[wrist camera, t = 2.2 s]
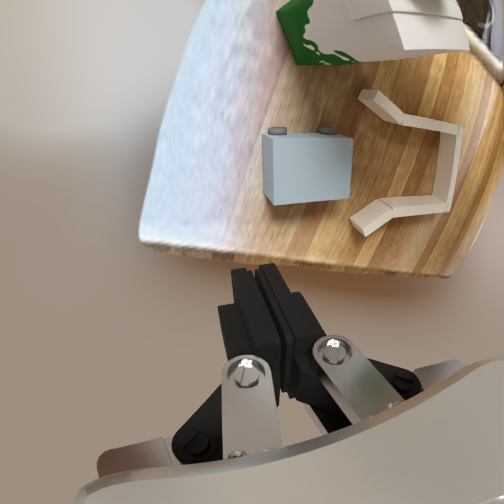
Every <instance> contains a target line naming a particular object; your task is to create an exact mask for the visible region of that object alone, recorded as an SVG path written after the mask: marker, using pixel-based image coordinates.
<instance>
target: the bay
mask: <svg viewBox="0 0 504 504" xmlns="http://www.w3.org/2000/svg"><path fill="white" fill-rule="evenodd" d="M357 99H358V100H359V101H361V102H362V103H363V104H364V105H366V106H367V107H368V108H369V109H371V110H372V111H373V112H374V113H375V114H377V115H378V116H379V117H380V118H381V119H383V120H384V121H386V122H391V123H395V124H399V125H403V126H410V127H417V128H423V129H429V130H434V131H440V143H439V152H438V160H437V167H436V174H435V181H434V186H433V192H432V195H425V196H405V197H388V198H379V199H378V200H377V199H376V200H374V201H373V202H371V203H370V204H368V205H367V206H366V207H364V208H363V209H361V210H360V211H358V212H357V213H355V214H354V215H353V216H351V217H350V220H351V223H352V225H353V226H354V227H355V228H356V229H357V230H358V231H359V232H360V233H362V234H363V235H364V236H365V237H367V236H368V235H369V234H371V233H372V232H374V231H375V230H376V229H378V228H379V227H381V226H382V225H383V224H385V223H386V222H387V221H389V220H390V219H392V218H395V217H404V216H414V215H423V214H433V213H442V212H450V208H451V203H452V199H453V194H454V189H455V183H456V178H457V172H458V165H459V158H460V151H461V142H462V132H463V127H462V126H458V125H455V124H451V123H448V122H444V121H439V120H435V119H430V118H426V117H421V116H416V115H410V114H405V113H403V112H402V111H401V110H400V109H399V108H398V107H397V106H395V105H394V104H393V103H392V102H391V101H390V100H389V99H388V98H387V97H386V96H385V95H383V94H382V93H381V92H380V91H379V90H365V89H362V90H361V92H360V94H359V96H358V98H357Z"/></svg>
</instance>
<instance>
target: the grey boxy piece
mask: <svg viewBox="0 0 504 504" xmlns="http://www.w3.org/2000/svg"><path fill="white" fill-rule="evenodd" d="M352 156H353V138H350V137H347V136H344V135H340V134H337V133H336V128H331V127H319V133H315V132H306V133H287V128H284V127H271V128H268V133H267V134H262V157H263V193H264V194H265V195H266V196H267V198H268V199H269V200H270V201H271V203H272V204H273V205H274V206H275V205H284V204H294V203H305V202H315V201H327V200H339V199H349V195H350V184H351V171H352Z"/></svg>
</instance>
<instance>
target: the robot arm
mask: <svg viewBox="0 0 504 504" xmlns="http://www.w3.org/2000/svg"><path fill="white" fill-rule="evenodd" d="M231 277H232V287H233V296H234V303H233V304H227V305H221V306H218V313H219V319H220V325H221V330H222V336H223V340H224V345H225V349H226V354H227V358H228V362H227V363H226V364H225V366H224V367H223V370H222V383H221V385H220V386H219V387H218V388H217V389H216V390H215V391H214V393H212V395H211V396H210V397H209V398H208V399H207V400H206V401H205V402H204V403H203V404H202V406H201V407H200V408H199V409H198V410H197V411H196V412H195V413H194V414H193V415H192V416H191V417H190V419H189V420H188V421H187V422H186V423H185V424H184V425H183V426H182V427H181V428H180V429H179V430H178V431H177V432H176V434H175V435H174V436H172V437H169V438H165V439H163V438H162V437H160V438H156V439H152V440H149V441H145V442H141V443H137V444H133V445H128V446H124V447H120V448H115V449H110V450H107V451H105V452H103V453H102V454H101V455H100V456H99V458H98V461H97V471H98V475H99V479H96V480H94V481H92V482H90V483H88V484H86V485H85V486H83V487H82V488H81V489H80V490H79V491H78V492H77V494H76V496H75V498H74V501H73V504H504V358H490V359H484V360H480V361H477V362H475V363H472V364H470V365H468V366H466V365H465V364H464V363H463V362H461V361H458V360H449V361H445V362H441V363H438V364H434V365H430V366H425V367H421V368H417V369H415V370H414V372H411V371H409V370H406V369H403V368H399V367H396V366H392V365H389V364H385V363H382V362H378V361H375V360H372V359H368V358H366V357H365V356H364V355H363V354H362V352H361V351H360V350H359V349H358V348H357V347H356V346H355V345H354V343H352V342H351V341H350V340H349V339H347V338H345V337H342V336H338V335H329V336H326V334H325V332H324V330H323V329H322V327H321V326H320V324H319V322H318V320H317V319H316V317H315V316H314V314H313V312H312V311H311V309H310V307H309V306H308V304H307V302H306V301H305V299H304V297H303V296H302V294H301V293H300V292H293V293H291V292H290V290H289V288H288V287H287V285H286V283H285V281H284V280H283V278H282V276H281V274H280V273H279V271H278V269H277V267H276V265H275V264H274V263H270V264H264V265H260V266H259V269H256V270H255V278H254V276H253V273H252V271H251V270H250V271H247V270H246V268H239V269H233V270H231ZM280 389H281V391H282V392H287V393H288V396H289V398H290V399H291V398H296V400H298V401H300V402H302V403H304V407H305V409H306V410H307V412H308V414H309V415H310V417H311V418H312V420H313V421H314V423H315V424H316V426H317V427H318V429H319V430H320V432H321V434H322V435H323V436H320V437H317V438H314V439H310V440H308V441H304V442H301V443H297V444H294V445H290V446H287V447H283V446H282V439H281V433H280V426H279V420H278V414H277V407H278V405H279V395H280Z"/></svg>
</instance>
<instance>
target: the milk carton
mask: <svg viewBox="0 0 504 504" xmlns="http://www.w3.org/2000/svg"><path fill="white" fill-rule="evenodd" d="M276 13H277V15H278V17H279V20H280V22H281V24H282V27H283V29H284V32H285V34H286V37H287V39H288V42H289V44H290V47H291V50H292V52H293V55H294V57H295V60H296V63H297V65H342V64H353V63H363V62H373V61H387V60H398V59H405V58H415V57H422V56H428V55H435V54H442V53H450V52H459V51H470V47H469V43H468V40H467V36H466V32H465V29H464V26H463V22H462V20H463V17H462V13H461V11H460V8H459V6H458V4H457V2H456V0H291V1H289V2H288V3H287V4H285V5H284V6H283V7H281V8H280V9H279V10H278V11H276Z"/></svg>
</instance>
